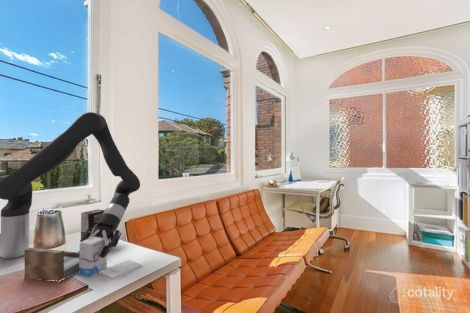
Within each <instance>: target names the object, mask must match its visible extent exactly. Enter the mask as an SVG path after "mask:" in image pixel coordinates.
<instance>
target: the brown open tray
mask: <svg viewBox="0 0 470 313" xmlns="http://www.w3.org/2000/svg"><path fill="white" fill-rule="evenodd" d="M79 260H80V254H79V251H70V250H69V251H68V250H57V249H50V248H49V249H48V248H47V249H46V248H36V247H29V248H28V249H25V255H24V279H25V278H30V279H29V280H33V279H41V280H40V281H42V280H55V281H56V280H57V281H59V280H61V279H63V278H66V277H68V276H70V277H72V276H73V275H75V274H76V273H79ZM68 278H69V277H68ZM66 279H67V278H66Z"/></svg>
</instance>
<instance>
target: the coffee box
mask: <svg viewBox="0 0 470 313" xmlns="http://www.w3.org/2000/svg"><path fill="white" fill-rule="evenodd" d="M104 211H105V209H98V208H97V209H93V210H88V211H84V212H80V214H81V215H80V218H81V219H80V239H81V238H82V237H83V235H84V234H85V232H86V231H87V229H88V228H91V229H96V227H97V224H98V222H99V220H100V218H101V216H102V215H103V213H104ZM85 239H86V238H85Z"/></svg>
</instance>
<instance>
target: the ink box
mask: <svg viewBox="0 0 470 313" xmlns="http://www.w3.org/2000/svg"><path fill="white" fill-rule="evenodd" d="M104 246H106V245H105V241H104V238H101V237H92V238H89V239H87V240H84V241H82V242H80V243H79V251H80V260H79V271H78V275H79V276H86V277H92V276H93V275H95V274H97V273H99V272H100V271H103V270H104V268H106V267H107V258H108V257H107V255H108V254H107V255H106V256H105V257H104V258H101V257H100V253H101V251H102V249H103V247H104Z"/></svg>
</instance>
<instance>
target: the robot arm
mask: <svg viewBox="0 0 470 313" xmlns="http://www.w3.org/2000/svg"><path fill="white" fill-rule="evenodd" d="M91 135H92V136H93V137H94V138H95V140H96V141H97V142H98V144H99V146H100V148H101V152H102V155H103V158H104V161H105V163H106V165H107V167H108V169H109V170H110V172H111V173H112V175H113V176H114V177H119V178H121V180H120V181H119V182H118V184H116V187H115V190H114V193H113V197H112V199H111V200H110V202H109V204H108V205H107V207H105V209H104V210H105V211H104V213H103V215H102V216H101V218H100V220H99V222H98V224H97V227H96V229H91V228H88V229H87V231H86V232H85V234H84V235H83V237H82V238H81V237H80V240H79V242H80V243H81V242H82V241H84V240H87V239H89V238H92V237H101V238H104V241H105V245H106V246H104V247H103V249H102V251H101V253H100V257H101V258H104V257H105V256H106V255H108V253H109V251H110V249H111V248H116V247H117V244H118V243H119V241H120V239H121V236H122V232H121V231H120V230H119V229H118V227H119V225H120V223H121V222H122V219H123V217H124V215H125V212H126V210H127V209H128V207H129V203H130V197H129V196H130V194H132V193H135V192H137V191H138V190H140V189H141V181H140V179H139V177H138V176H137V175H136V174H135V172H133V170H132V169H131V168H130V167H128V165H127V163H126V161H125V160H124V158H123V156H122V154H121V152H120V150H119V149H118V146H117V145H116V143H115V141H114V138H113V137H112V134H111V132H110V128H109V125H108V123H107V120H106V119H105V117H104V116H103V115H101V114H100V113H98V112H93V111H87V112H84V113H82V114H81V115H79V117H78V118H76V120H75V121H74V122H73V123H72V124H71V125H70V126H69V127H68V128H66V130H64V131H63V132H62V133H61V134H59V135H58V136H56V137H55V138H54V139H53V140H51V141H50V142H49V143H47V144H45V146H44V147H43V148H41V149H40V150H39V151H37V153H35V154H34V155H33V156H32V157H31V158H29V159H28V160H27V161H25V163H24V164H22V166H20V167H19V168H17V169H16V170H15V171H13V172H12V173H10V174H9V175H7V176H5V177H3V178H2V179H1V180H0V199H1V200H5V201H6V200H7V203H6V205H5V206H3V208H1V210H0V258H1V259H8V260H9V259H14V258H20V257H23V256H25V249H28V248H30V210H31V207H32V203H33V183H32V182H34V181H35V180H36V179H39V178H40V177H42V176H44V175H46V174H48V173H49V172H52V171H53V170H54V169H56V168H57V167H59V166H60V165H62V163H65V161H66V160H68V159H69V158H70V156H71V155H72V154H73V152H74V151H75V149H76V148H77V146H79V144H80V143H81V142H82V141H84V140H85V139H87V138H89V136H91ZM113 235H114V236H113ZM112 236H113V238H112V241H111V239H110V237H112ZM85 238H86V239H85ZM78 252H79V254H80V250H78Z"/></svg>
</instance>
